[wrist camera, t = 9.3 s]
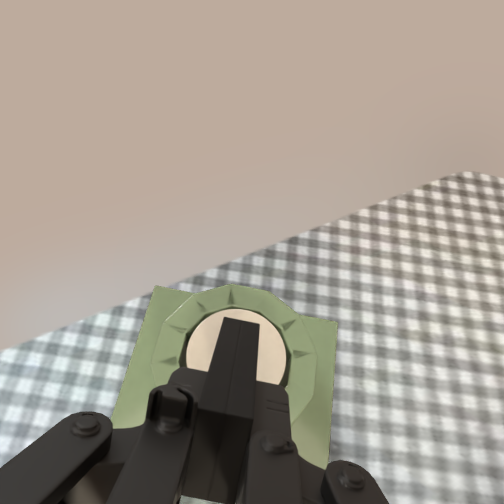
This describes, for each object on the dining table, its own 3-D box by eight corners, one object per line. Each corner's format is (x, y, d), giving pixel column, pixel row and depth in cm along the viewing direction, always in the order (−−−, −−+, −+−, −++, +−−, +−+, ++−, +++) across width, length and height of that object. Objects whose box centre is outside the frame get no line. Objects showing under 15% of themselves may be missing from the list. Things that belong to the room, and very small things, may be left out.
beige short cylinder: (283, 338, 22) (291, 318, 20) (270, 427, 20) (279, 416, 18) (199, 321, 22) (199, 300, 20) (176, 408, 20) (174, 394, 18)
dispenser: (296, 382, 33) (349, 305, 21) (283, 492, 29) (340, 472, 17) (168, 356, 33) (151, 265, 21) (138, 462, 29) (96, 422, 17)
